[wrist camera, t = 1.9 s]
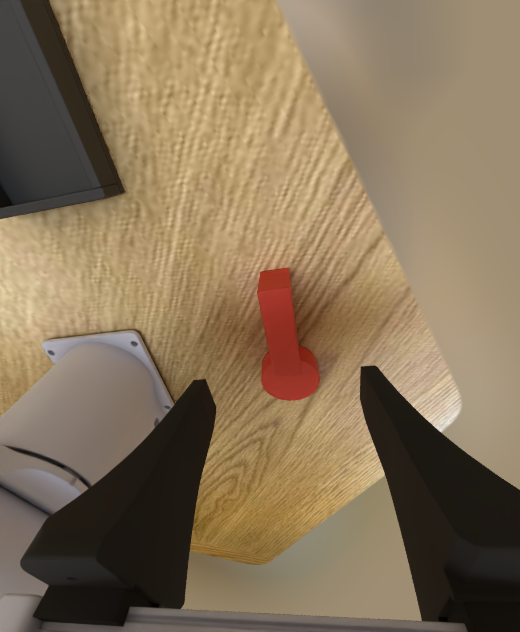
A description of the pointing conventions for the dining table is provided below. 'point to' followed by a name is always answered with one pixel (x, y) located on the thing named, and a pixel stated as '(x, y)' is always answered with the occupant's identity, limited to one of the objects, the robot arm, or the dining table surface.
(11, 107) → the tray
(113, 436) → the robot arm
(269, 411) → the dining table surface
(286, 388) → the red spoon
